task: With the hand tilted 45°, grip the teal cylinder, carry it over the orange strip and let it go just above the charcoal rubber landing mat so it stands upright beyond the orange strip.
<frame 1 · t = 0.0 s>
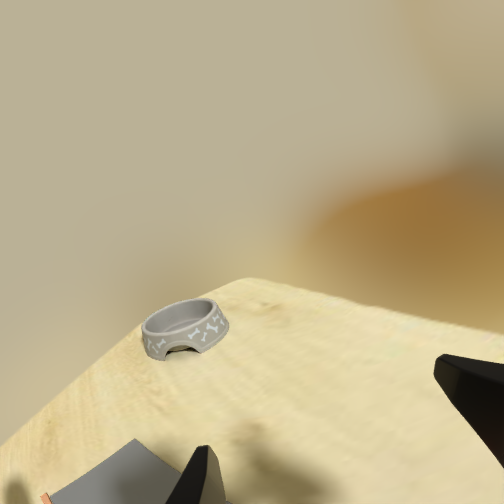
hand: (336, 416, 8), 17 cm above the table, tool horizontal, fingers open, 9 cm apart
dog bowl: (186, 337, 53), on the table
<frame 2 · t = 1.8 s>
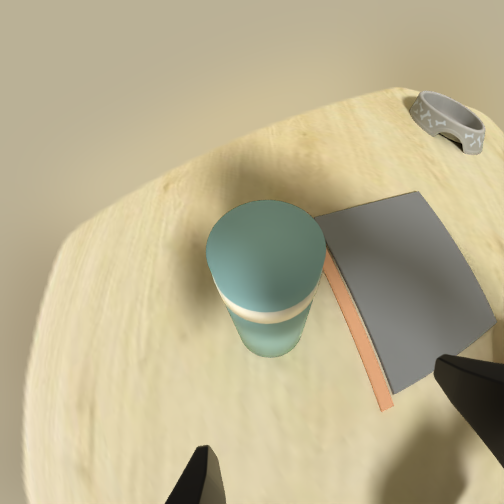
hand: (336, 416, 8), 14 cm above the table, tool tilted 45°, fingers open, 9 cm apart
dog bowl: (446, 129, 41), on the table
orange strip: (344, 302, 24), on the table
mat: (415, 273, 25), on the table
teal cylinder: (270, 327, 24), on the table
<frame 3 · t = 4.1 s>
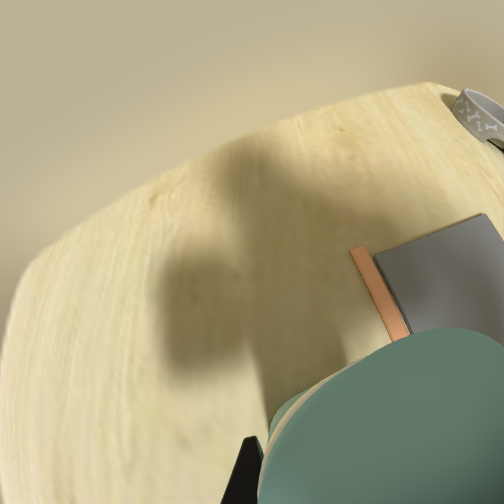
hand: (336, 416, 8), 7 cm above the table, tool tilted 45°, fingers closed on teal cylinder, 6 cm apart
dog bowl: (489, 134, 31), on the table
orange strip: (417, 384, 14), on the table
mat: (492, 330, 14), on the table
teal cylinder: (316, 432, 13), on the table, touching gripper
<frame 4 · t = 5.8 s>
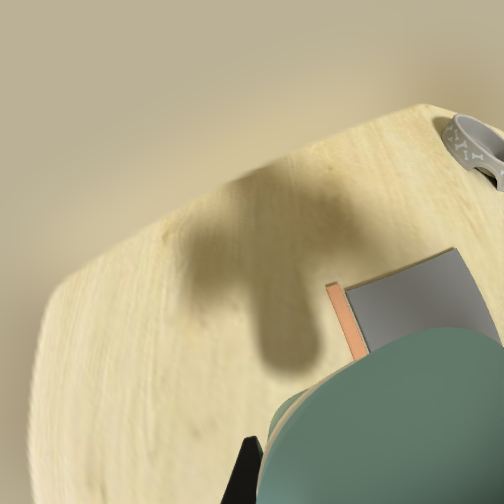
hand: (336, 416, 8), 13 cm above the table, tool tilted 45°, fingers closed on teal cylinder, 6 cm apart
dog bowl: (478, 158, 36), on the table
orange strip: (373, 395, 19), on the table
mat: (448, 354, 20), on the table
teal cylinder: (316, 432, 13), point 6 cm above the table, touching gripper
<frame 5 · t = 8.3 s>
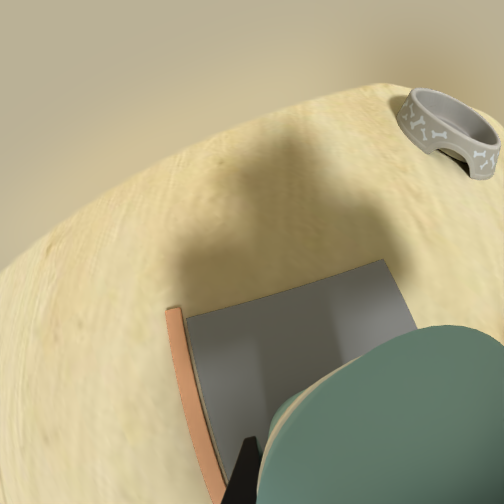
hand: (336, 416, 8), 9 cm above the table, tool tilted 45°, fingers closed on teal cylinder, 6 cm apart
dog bowl: (447, 141, 31), on the table
orange strip: (206, 453, 14), on the table
mat: (337, 418, 15), on the table
teal cylinder: (316, 431, 13), point 2 cm above the table, touching gripper
when the fingers open (9 cm above the table, at t = 8.3 s): teal cylinder drops 1 cm, resting on mat.
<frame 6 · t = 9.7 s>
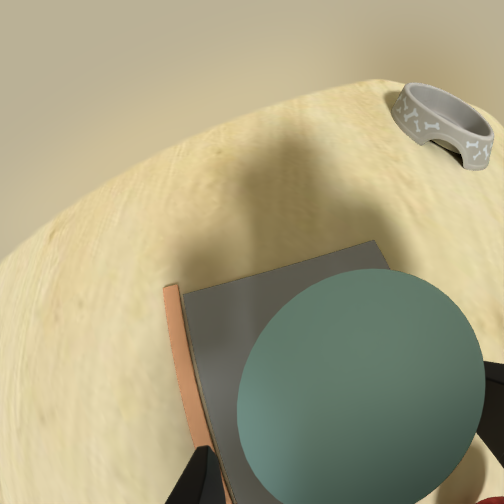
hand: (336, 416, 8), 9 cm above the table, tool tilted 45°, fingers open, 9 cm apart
dog bowl: (441, 133, 32), on the table
orange strip: (199, 428, 15), on the table
mat: (330, 394, 16), on the table
teal cylinder: (306, 403, 15), resting on mat
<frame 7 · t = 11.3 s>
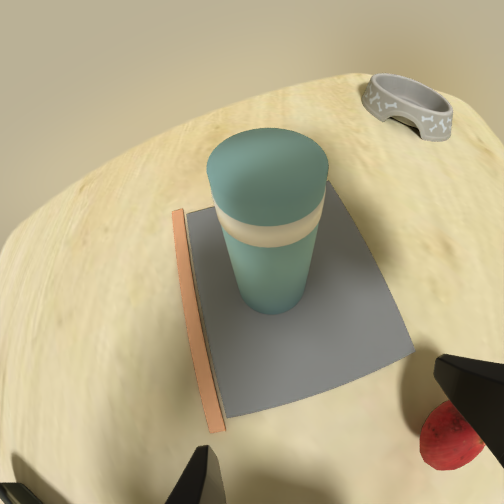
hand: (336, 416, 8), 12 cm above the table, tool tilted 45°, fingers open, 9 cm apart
dog bowl: (407, 114, 39), on the table
orange strip: (190, 305, 23), on the table
mat: (291, 279, 23), on the table
onion: (430, 433, 15), on the table
teal cylinder: (271, 283, 23), resting on mat
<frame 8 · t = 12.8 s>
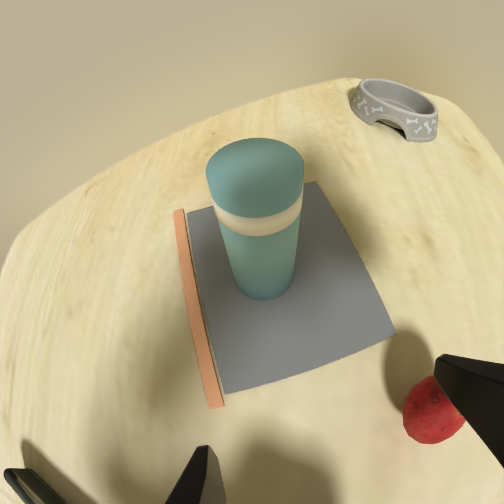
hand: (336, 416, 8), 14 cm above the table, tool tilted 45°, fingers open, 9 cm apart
dog bowl: (394, 117, 43), on the table
orange strip: (191, 294, 26), on the table
mat: (281, 269, 26), on the table
onion: (414, 411, 18), on the table
teal cylinder: (263, 273, 26), resting on mat
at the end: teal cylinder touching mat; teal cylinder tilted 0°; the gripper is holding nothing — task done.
